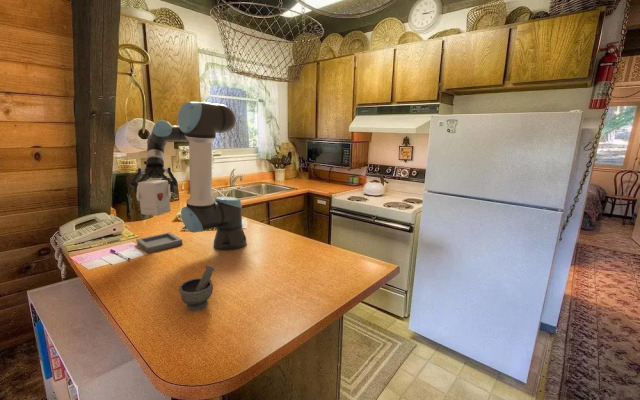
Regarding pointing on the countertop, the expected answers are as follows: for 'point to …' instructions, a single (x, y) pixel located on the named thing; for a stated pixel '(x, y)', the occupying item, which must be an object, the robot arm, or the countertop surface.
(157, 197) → the supplement box
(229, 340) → the countertop surface
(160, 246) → the charcoal tray
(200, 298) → the mortar and pestle
